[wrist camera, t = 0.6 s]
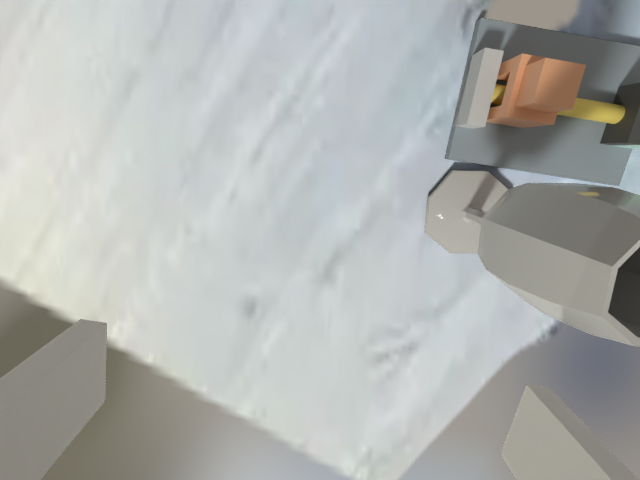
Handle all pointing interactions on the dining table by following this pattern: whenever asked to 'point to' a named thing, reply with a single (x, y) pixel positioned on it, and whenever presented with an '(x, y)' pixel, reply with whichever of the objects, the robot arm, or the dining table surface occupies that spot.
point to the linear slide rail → (570, 126)
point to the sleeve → (536, 90)
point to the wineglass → (549, 245)
